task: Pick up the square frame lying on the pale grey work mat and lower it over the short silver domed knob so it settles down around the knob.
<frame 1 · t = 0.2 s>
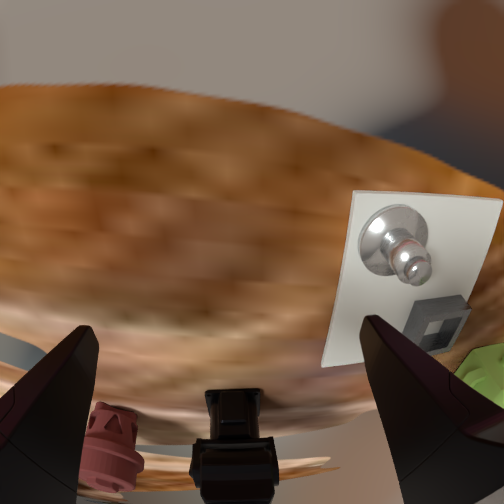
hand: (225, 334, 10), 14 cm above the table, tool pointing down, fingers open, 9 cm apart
green pegged block: (483, 357, 39), on the table
square frame: (429, 320, 31), point 1 cm above the table, touching work mat
mechanical component: (116, 411, 38), on the table
silver domed knob: (392, 239, 25), resting on work mat
work mat: (413, 287, 29), on the table
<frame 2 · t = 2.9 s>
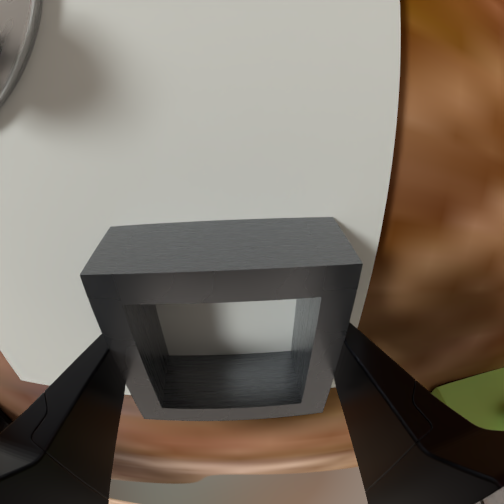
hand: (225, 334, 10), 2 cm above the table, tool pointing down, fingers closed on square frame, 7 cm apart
green pegged block: (466, 394, 19), on the table
square frame: (225, 308, 11), point 1 cm above the table, touching gripper, work mat
work mat: (103, 182, 9), on the table
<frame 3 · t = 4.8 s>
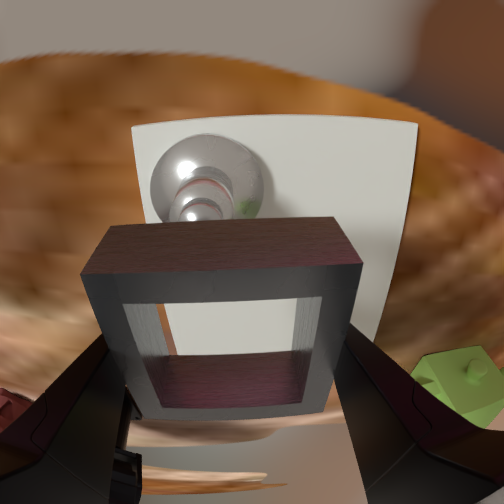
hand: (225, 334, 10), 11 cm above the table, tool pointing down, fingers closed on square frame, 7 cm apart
green pegged block: (446, 364, 32), on the table
square frame: (226, 308, 11), point 10 cm above the table, touching gripper
mechanical component: (18, 399, 31), on the table
silver domed knob: (207, 187, 18), resting on work mat
work mat: (281, 264, 22), on the table
when the fingers open (5 cm above the table, at t = 6.8 s): square frame drops 3 cm, resting on silver domed knob.
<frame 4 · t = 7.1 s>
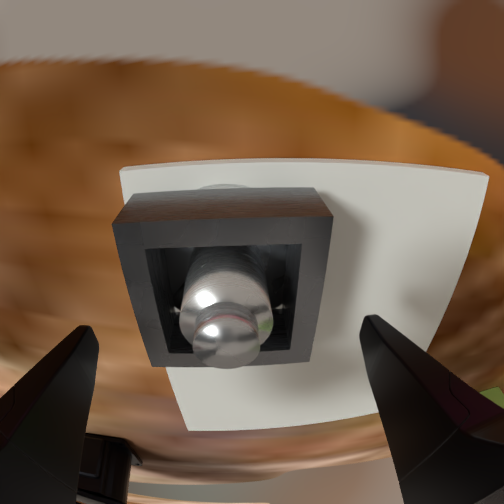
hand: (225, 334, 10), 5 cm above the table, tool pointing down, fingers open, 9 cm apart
square frame: (225, 266, 13), point 1 cm above the table, touching silver domed knob
silver domed knob: (226, 255, 14), resting on work mat
work mat: (312, 336, 17), on the table
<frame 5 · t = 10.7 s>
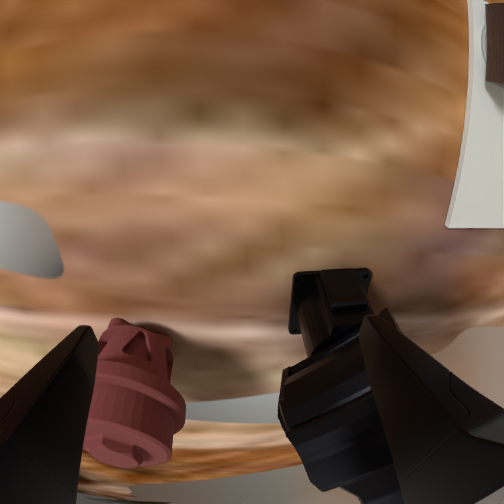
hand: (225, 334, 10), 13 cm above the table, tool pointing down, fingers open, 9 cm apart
mechanical component: (139, 338, 28), on the table
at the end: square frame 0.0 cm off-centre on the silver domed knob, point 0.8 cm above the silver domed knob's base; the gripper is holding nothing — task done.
